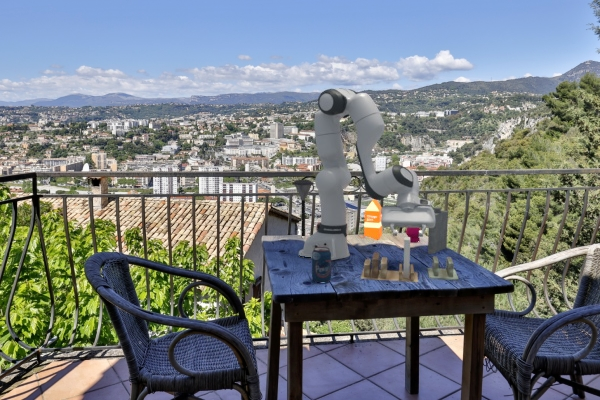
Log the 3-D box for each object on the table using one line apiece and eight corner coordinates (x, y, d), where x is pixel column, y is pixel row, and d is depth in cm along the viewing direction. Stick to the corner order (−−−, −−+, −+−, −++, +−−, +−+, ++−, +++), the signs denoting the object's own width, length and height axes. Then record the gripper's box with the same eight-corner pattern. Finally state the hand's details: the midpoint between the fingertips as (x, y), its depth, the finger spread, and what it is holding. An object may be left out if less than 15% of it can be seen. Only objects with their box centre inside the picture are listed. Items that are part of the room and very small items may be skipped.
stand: (429, 282, 163) (429, 263, 162) (427, 272, 175) (427, 255, 174) (458, 284, 161) (459, 265, 160) (454, 274, 173) (455, 256, 172)
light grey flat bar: (403, 278, 164) (404, 239, 162) (403, 274, 169) (404, 236, 167) (409, 278, 163) (410, 240, 161) (408, 274, 168) (410, 237, 166)
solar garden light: (313, 241, 228) (313, 181, 224) (289, 240, 230) (289, 181, 226) (316, 236, 240) (316, 179, 236) (293, 235, 242) (293, 179, 238)
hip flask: (433, 254, 202) (435, 210, 199) (424, 253, 205) (426, 209, 202) (447, 247, 214) (449, 205, 212) (439, 246, 217) (440, 204, 214)
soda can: (317, 285, 161) (317, 251, 160) (308, 279, 168) (308, 247, 166) (334, 282, 164) (334, 249, 162) (325, 277, 170) (325, 245, 169)
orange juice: (364, 238, 234) (364, 200, 232) (367, 235, 243) (368, 197, 240) (379, 239, 232) (380, 200, 229) (382, 236, 240) (383, 198, 237)
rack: (360, 282, 164) (360, 259, 163) (363, 272, 175) (363, 251, 174) (418, 286, 159) (418, 262, 158) (416, 276, 171) (417, 253, 170)
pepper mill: (421, 243, 224) (422, 202, 221) (405, 242, 225) (407, 202, 223) (420, 239, 231) (421, 200, 228) (405, 239, 232) (406, 200, 230)
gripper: (380, 200, 179) (379, 230, 170) (435, 201, 174) (436, 231, 166) (381, 210, 183) (379, 239, 175) (434, 211, 179) (435, 240, 171)
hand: (407, 235), depth 171 cm, fingers open, 8 cm apart
